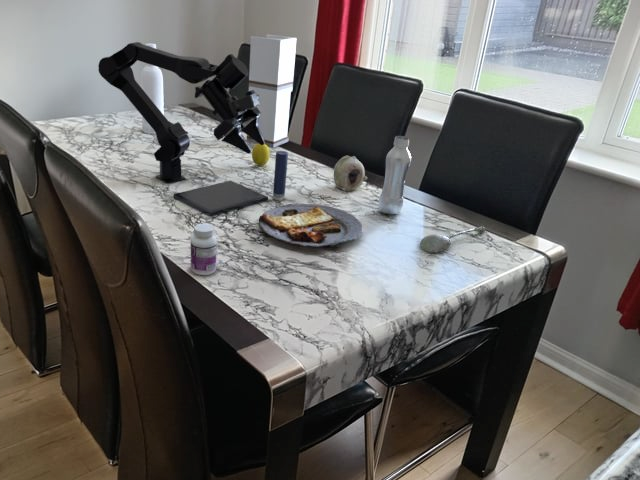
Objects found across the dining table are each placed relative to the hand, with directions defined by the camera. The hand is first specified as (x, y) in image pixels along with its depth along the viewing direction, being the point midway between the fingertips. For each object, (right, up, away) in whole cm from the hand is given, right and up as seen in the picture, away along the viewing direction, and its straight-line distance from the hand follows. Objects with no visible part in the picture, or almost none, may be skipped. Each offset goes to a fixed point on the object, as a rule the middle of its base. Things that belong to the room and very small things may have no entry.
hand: (257, 148), depth 154 cm
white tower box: (+4, +16, +55) cm, 57 cm away
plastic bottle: (+35, -17, 0) cm, 39 cm away
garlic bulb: (+27, -8, +15) cm, 32 cm away
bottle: (-38, +20, +59) cm, 73 cm away
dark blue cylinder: (+6, -13, +4) cm, 15 cm away
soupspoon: (+48, -26, -15) cm, 57 cm away
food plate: (+13, -24, -14) cm, 30 cm away
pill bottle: (-11, -34, -34) cm, 50 cm away
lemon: (+1, +1, +28) cm, 28 cm away
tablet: (-10, -13, +2) cm, 17 cm away
